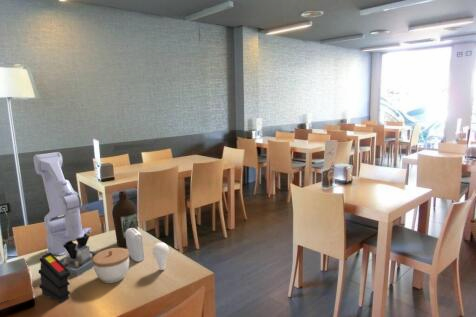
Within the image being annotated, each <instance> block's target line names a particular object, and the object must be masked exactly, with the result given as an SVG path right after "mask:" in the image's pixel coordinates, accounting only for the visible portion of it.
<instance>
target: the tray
mask: <svg viewBox="0 0 476 317" xmlns="http://www.w3.org/2000/svg"><path fill="white" fill-rule="evenodd" d="M97 253H98V252H96V251H91V250H90V256H91V260H90V261H89V262H87V263H85V264H84V265H81V264H78V261H76V262H75V263H73V262H68V261H67V259H66V256H64V257H62V258H60V259H58V260H59V261H60V262H61V263H62V264H63V265H64V266H65V267H66V268H67V269H68V270H69V273H70V274H71V276H72V277H73V276H75V277H79V276H81V275H82V274H84V273H86V272H87V271H89V270H90V269H92V268H94V265H93V260H92V259H93V257H94V256H95V255H96V254H97Z"/></svg>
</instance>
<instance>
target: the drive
mask: <svg viewBox="0 0 476 317" xmlns="http://www.w3.org/2000/svg"><path fill="white" fill-rule="evenodd" d="M90 251H91V250H90V246H88V245H86V246H85V245H80V244H78V243H76V248H75V253H76V258H75V259H71V258H70V255H69V253H68V252H67V250H66V249H65V257H66V259H67V261H68V262H73V263H75V262H76V261H78V264H81V265H84V264H85V263H87V262H89V261H90V260H91V256H90Z"/></svg>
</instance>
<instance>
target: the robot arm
mask: <svg viewBox="0 0 476 317" xmlns="http://www.w3.org/2000/svg"><path fill="white" fill-rule="evenodd" d="M63 159H64V158H63V155H62V154H61V152H59V151H56V152H49V153H41V154H34V156H33V166H34V171H35V172H36V174H37V175H40V176H41V178H42V181H43V186H44V191H45V195H46V201H47V203H48V208H49V212H48V213H47V214H46V215H45V216H44V219H43V220H44V223H43V224H44V229H45V230H44V231H46V233H47V234H46V235H45V236H46V237H45V239H46V246H47V250H46V251H45V253H46V254H48V253H52V254H53V255H57V256H63V255H66V253H65V249H66V250H67V252H68V253H69V255H70V258H71V259H75V258H76V253H75V248H76V244H80V245H85V246H87V244H88V241H89V239H90V236H89V235H87V234H90V233H92V227H85V228H83V226H82V219H81V218H82V217H81V210H80V208H81V207H82V200H81V196H80V194H79V193H78V192H77V191H76V190H74V187H72V184H71V182H70V180H69V179H65V176H64V173H63V170H62V167H63V163H64V162H63V161H64V160H63ZM75 240H76V242H77V243H76V242H74V241H75Z"/></svg>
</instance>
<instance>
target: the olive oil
mask: <svg viewBox="0 0 476 317" xmlns="http://www.w3.org/2000/svg"><path fill="white" fill-rule="evenodd" d="M118 197H119V198H118V200H117V202H116V203H115V204H114V206H113V207H112V209H111V210H112V213H111V215H112V220H113V227H114V232H115V238H116V246H118V247H119V248H127V244H126V235H125V232H126V230H127V229H130V228H134V229H136V230H137V231H139V230H138V228H139V226H138V209H137V207H136V204H135V203H134V202H133V201H131V200H130V199H129V198H128V193H127V190H126V189H121V190H119V191H118Z"/></svg>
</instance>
